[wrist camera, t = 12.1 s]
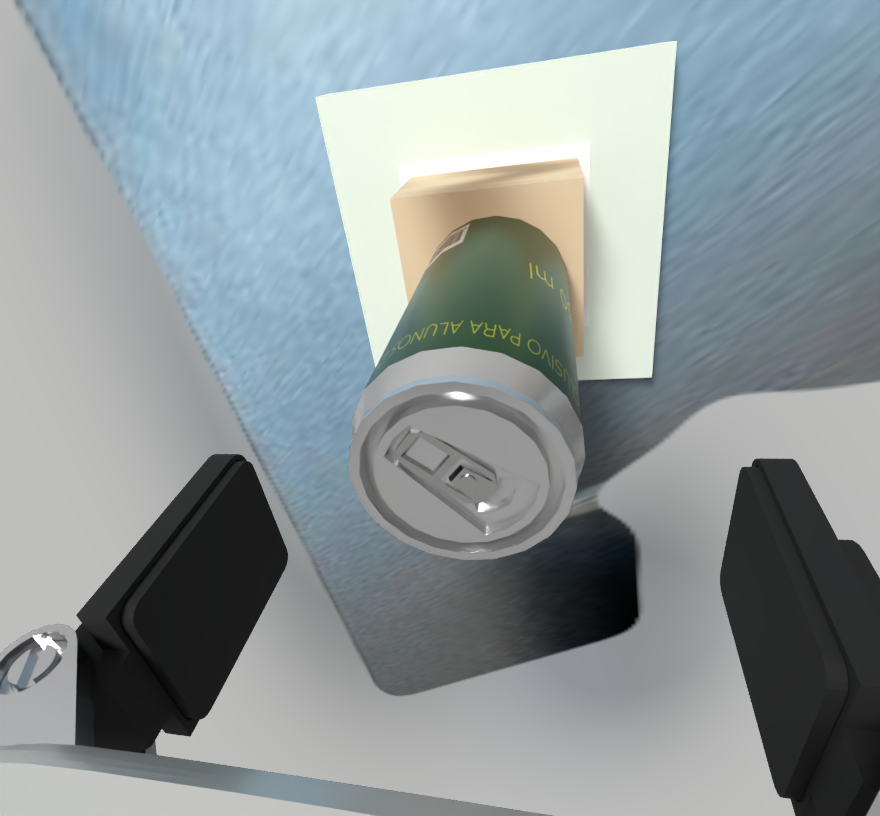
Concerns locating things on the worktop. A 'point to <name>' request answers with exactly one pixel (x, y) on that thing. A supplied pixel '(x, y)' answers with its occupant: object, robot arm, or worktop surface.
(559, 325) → the beer can
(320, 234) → the worktop surface
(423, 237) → the oak block
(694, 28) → the worktop surface
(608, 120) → the board
